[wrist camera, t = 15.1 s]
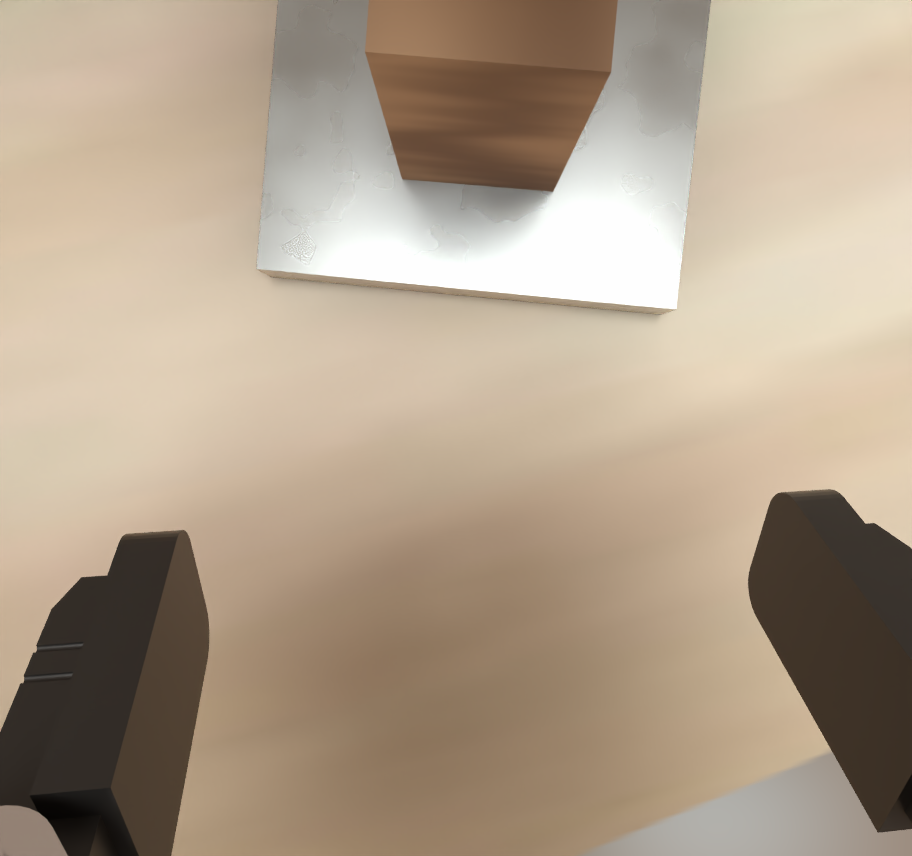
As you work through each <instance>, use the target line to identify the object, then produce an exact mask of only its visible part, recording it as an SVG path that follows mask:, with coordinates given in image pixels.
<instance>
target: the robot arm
mask: <svg viewBox="0 0 912 856" xmlns="http://www.w3.org/2000/svg"><path fill="white" fill-rule="evenodd" d="M748 588H749V596H750V601H751V604H752V608H753V610H754V613H755V615H756V617H757V619H758V620H759V622H760V624H761V626H762V628H763V629H764V631H765V633H766V635H767V636H768V638H769V640H770V642H771V644H772V645H773V647H774V649H775V651H776V652H777V654H778V656H779V658H780V660H781V661H782V663H783V665H784V667H785V668H786V670H787V672H788V674H789V676H790V677H791V679H792V681H793V683H794V684H795V686H796V688H797V690H798V692H799V693H800V695H801V697H802V699H803V700H804V702H805V704H806V706H807V707H808V709H809V711H810V713H811V715H812V716H813V718H814V720H815V722H816V723H817V725H818V727H819V729H820V731H821V732H822V734H823V736H824V738H825V739H826V741H827V743H828V745H829V747H830V748H831V750H832V752H833V754H834V755H835V757H836V759H837V761H838V762H839V764H840V766H841V768H842V770H843V771H844V773H845V775H846V777H847V779H848V780H849V782H850V784H851V786H852V787H853V789H854V791H855V793H856V794H857V796H858V798H859V800H860V802H861V803H862V805H863V807H864V809H865V810H866V812H867V814H868V816H869V818H870V819H871V821H872V823H873V825H874V826H875V828H876V830H877V832H888V831H897V830H906V829H912V549H911V548H910V547H909V546H907V545H906V544H904V543H903V542H901V541H900V540H898V539H897V538H896V537H894V536H893V535H891V534H890V533H888V532H887V531H885V530H884V529H882V528H881V527H879V526H878V525H876V524H875V523H871V524H865V523H864V521H863V520H862V519H861V518H860V517H859V515H858V514H857V513H856V512H855V510H854V509H853V508H852V507H851V506H850V504H849V503H848V502H847V501H846V499H845V498H844V497H843V496H842V495H841V494H840V493H838V492H837V491H835V490H830V489H828V490H812V491H797V492H782V493H778V494H776V495H775V496H774V497H773V498H772V500H771V502H770V505H769V508H768V511H767V514H766V518H765V521H764V524H763V527H762V531H761V534H760V537H759V541H758V544H757V547H756V551H755V554H754V557H753V561H752V564H751V567H750V571H749V578H748ZM36 646H37V651H36V653H33V655H32V657H31V660H30V662H29V665H28V667H27V669H26V672H25V674H24V683H21V684H20V686H19V689H18V691H17V693H16V696H15V698H14V701H13V703H12V705H11V708H10V710H9V713H8V715H7V717H6V720H5V722H4V725H3V727H2V729H1V732H0V856H171V853H172V848H173V842H174V837H175V831H176V826H177V821H178V815H179V810H180V805H181V799H182V794H183V788H184V783H185V778H186V772H187V767H188V761H189V756H190V751H191V745H192V740H193V734H194V729H195V724H196V718H197V713H198V707H199V702H200V697H201V691H202V686H203V681H204V675H205V670H206V664H207V659H208V651H209V621H208V613H207V608H206V604H205V600H204V596H203V592H202V587H201V583H200V579H199V575H198V571H197V567H196V563H195V558H194V554H193V550H192V546H191V542H190V539H189V536H188V534H187V532H186V531H184V530H179V531H163V532H148V533H133V534H125V535H124V536H123V537H122V538H121V540H120V542H119V544H118V547H117V550H116V553H115V556H114V558H113V561H112V564H111V567H110V570H109V572H108V575H107V576H95V577H81V578H80V580H79V581H78V582H77V583H76V584H75V585H74V586H73V587H72V588H71V589H70V590H69V591H68V592H67V593H66V594H65V596H64V597H63V598H62V599H61V600H60V601H59V602H58V603H57V604H56V605H55V606H54V607H53V608H52V609H51V612H50V614H49V617H48V619H47V621H46V624H45V626H44V629H43V631H42V633H41V636H40V638H39V641H38V643H37V645H36Z"/></svg>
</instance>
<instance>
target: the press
mask: <svg viewBox="0 0 912 856" xmlns="http://www.w3.org/2000/svg"><path fill="white" fill-rule="evenodd" d="M710 3H711V0H618V4H617V14H616V25H615V36H614V47H613V58H612V69H611V74H610V76H609V78H608V80H607V82H606V84H605V86H604V88H603V90H602V92H601V94H600V96H599V98H598V100H597V102H596V104H595V107H594V109H593V111H592V113H591V115H590V117H589V119H588V121H587V123H586V125H585V127H584V129H583V131H582V133H581V135H580V137H579V140H578V142H577V144H576V146H575V148H574V150H573V152H572V154H571V156H570V158H569V160H568V162H567V164H566V166H565V168H564V171H563V173H562V175H561V177H560V179H559V181H558V183H557V185H556V187H555V189H554V191H553V192H551V191H539V190H527V189H514V188H502V187H490V186H478V185H466V184H454V183H442V182H430V181H418V180H405V179H402V178H401V174H400V171H399V167H398V164H397V160H396V157H395V153H394V150H393V147H392V143H391V140H390V136H389V133H388V129H387V126H386V122H385V119H384V116H383V112H382V109H381V105H380V102H379V98H378V95H377V91H376V88H375V85H374V81H373V78H372V74H371V71H370V67H369V64H368V61H367V57H366V54H365V45H366V31H367V18H368V4H369V0H278V7H277V20H276V32H275V44H274V57H273V69H272V82H271V94H270V106H269V119H268V131H267V144H266V156H265V169H264V181H263V193H262V206H261V218H260V231H259V243H258V256H257V268H256V269H258V270H259V271H261V272H263V273H265V274H267V275H268V276H270V277H277V278H287V279H298V280H308V281H318V282H329V283H339V284H349V285H360V286H370V287H381V288H391V289H401V290H412V291H422V292H432V293H443V294H453V295H464V296H474V297H484V298H495V299H505V300H515V301H526V302H536V303H547V304H557V305H567V306H578V307H588V308H598V309H609V310H619V311H630V312H640V313H650V314H664V313H667V312H670V311H673V310H676V306H677V298H678V289H679V280H680V271H681V262H682V253H683V244H684V235H685V226H686V217H687V208H688V199H689V190H690V181H691V173H692V164H693V155H694V146H695V137H696V128H697V119H698V110H699V101H700V92H701V83H702V74H703V65H704V56H705V47H706V39H707V30H708V21H709V12H710Z"/></svg>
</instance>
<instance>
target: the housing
mask: <svg viewBox="0 0 912 856" xmlns="http://www.w3.org/2000/svg"><path fill="white" fill-rule="evenodd" d="M617 4H618V0H369V4H368V18H367V31H366V45H365V54H366V57H367V61H368V64H369V67H370V71H371V74H372V78H373V81H374V85H375V88H376V91H377V95H378V98H379V102H380V105H381V109H382V112H383V116H384V119H385V122H386V126H387V129H388V133H389V136H390V140H391V143H392V147H393V150H394V153H395V157H396V160H397V164H398V167H399V171H400V174H401V178H402V179H405V180H418V181H430V182H442V183H454V184H466V185H478V186H490V187H502V188H514V189H527V190H539V191H551V192H553V191H554V189H555V187H556V185H557V183H558V181H559V179H560V177H561V175H562V173H563V171H564V168H565V166H566V164H567V162H568V160H569V158H570V156H571V154H572V152H573V150H574V148H575V146H576V144H577V142H578V140H579V137H580V135H581V133H582V131H583V129H584V127H585V125H586V123H587V121H588V119H589V117H590V115H591V113H592V111H593V109H594V107H595V104H596V102H597V100H598V98H599V96H600V94H601V92H602V90H603V88H604V86H605V84H606V82H607V80H608V78H609V76H610V74H611V69H612V58H613V47H614V36H615V25H616V14H617Z"/></svg>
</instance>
